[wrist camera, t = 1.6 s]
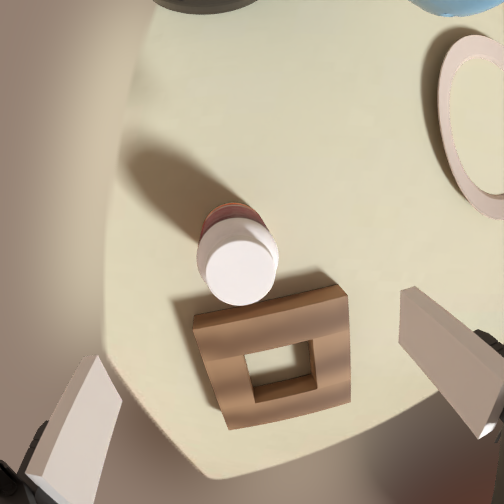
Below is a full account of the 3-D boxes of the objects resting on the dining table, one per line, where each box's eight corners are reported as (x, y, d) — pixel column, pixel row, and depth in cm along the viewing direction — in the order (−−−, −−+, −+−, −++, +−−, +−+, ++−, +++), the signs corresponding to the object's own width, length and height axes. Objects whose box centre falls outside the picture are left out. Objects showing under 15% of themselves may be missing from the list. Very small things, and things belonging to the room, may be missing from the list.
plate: (539, 87, 28) (547, 87, 27) (523, 232, 36) (531, 235, 34) (432, 5, 25) (440, 1, 23) (412, 191, 32) (422, 194, 30)
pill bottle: (189, 226, 30) (173, 264, 20) (240, 188, 30) (251, 207, 19) (226, 274, 32) (230, 330, 22) (276, 239, 32) (303, 281, 21)
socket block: (194, 315, 33) (192, 329, 31) (337, 284, 34) (347, 295, 31) (227, 414, 38) (228, 430, 36) (343, 387, 39) (350, 401, 36)
